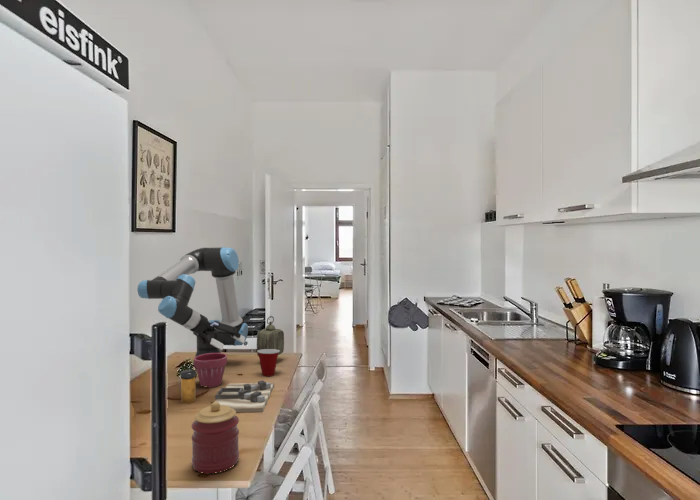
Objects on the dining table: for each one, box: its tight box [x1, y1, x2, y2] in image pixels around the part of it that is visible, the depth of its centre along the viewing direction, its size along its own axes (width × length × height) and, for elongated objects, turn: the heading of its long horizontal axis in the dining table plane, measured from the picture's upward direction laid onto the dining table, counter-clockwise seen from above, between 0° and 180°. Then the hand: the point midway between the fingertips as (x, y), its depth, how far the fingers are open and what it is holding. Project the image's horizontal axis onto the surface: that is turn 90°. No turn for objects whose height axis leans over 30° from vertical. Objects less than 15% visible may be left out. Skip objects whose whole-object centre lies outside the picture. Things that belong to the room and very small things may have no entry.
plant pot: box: [193, 352, 228, 389], centre depth 193 cm, size 14×14×13 cm
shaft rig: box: [214, 379, 275, 414], centre depth 175 cm, size 30×20×4 cm
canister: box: [191, 401, 240, 473], centre depth 122 cm, size 13×13×18 cm
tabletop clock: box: [256, 315, 285, 358], centre depth 230 cm, size 14×9×25 cm, turn 160°
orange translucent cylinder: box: [180, 369, 197, 405], centre depth 172 cm, size 6×6×12 cm
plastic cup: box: [256, 349, 280, 377], centre depth 208 cm, size 11×11×12 cm
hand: (233, 343), depth 186 cm, fingers open, 13 cm apart
